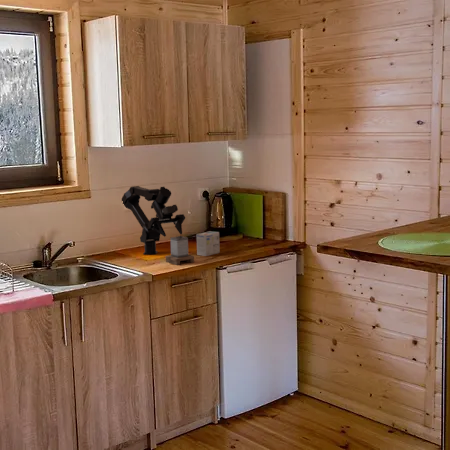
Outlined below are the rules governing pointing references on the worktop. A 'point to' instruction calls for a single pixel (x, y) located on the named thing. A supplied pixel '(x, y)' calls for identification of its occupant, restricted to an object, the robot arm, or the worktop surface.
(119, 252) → the worktop surface
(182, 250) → the block
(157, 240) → the robot arm
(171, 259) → the walnut stand
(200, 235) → the light bulb box
